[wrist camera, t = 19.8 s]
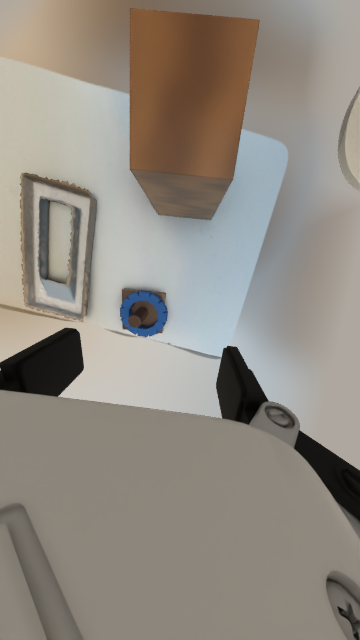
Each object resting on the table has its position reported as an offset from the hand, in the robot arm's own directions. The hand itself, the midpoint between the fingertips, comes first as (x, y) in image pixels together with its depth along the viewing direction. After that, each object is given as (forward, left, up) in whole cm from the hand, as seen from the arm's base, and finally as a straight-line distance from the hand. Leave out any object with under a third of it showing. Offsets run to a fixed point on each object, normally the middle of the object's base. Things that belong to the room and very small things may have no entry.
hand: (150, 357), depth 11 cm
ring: (+6, +5, -25) cm, 26 cm away
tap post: (+7, +5, -26) cm, 28 cm away
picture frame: (+24, -5, -27) cm, 36 cm away
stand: (0, -19, -26) cm, 32 cm away
